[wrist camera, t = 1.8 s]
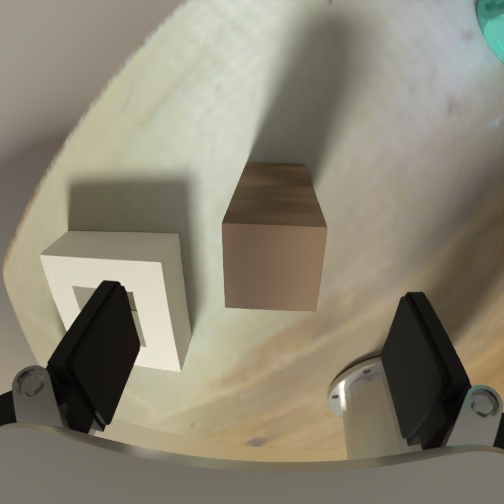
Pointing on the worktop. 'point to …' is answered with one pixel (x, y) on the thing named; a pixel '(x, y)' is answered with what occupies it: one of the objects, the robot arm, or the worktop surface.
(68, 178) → the worktop surface
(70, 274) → the socket block
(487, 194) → the worktop surface
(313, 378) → the worktop surface
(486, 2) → the decorative dice
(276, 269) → the peg
